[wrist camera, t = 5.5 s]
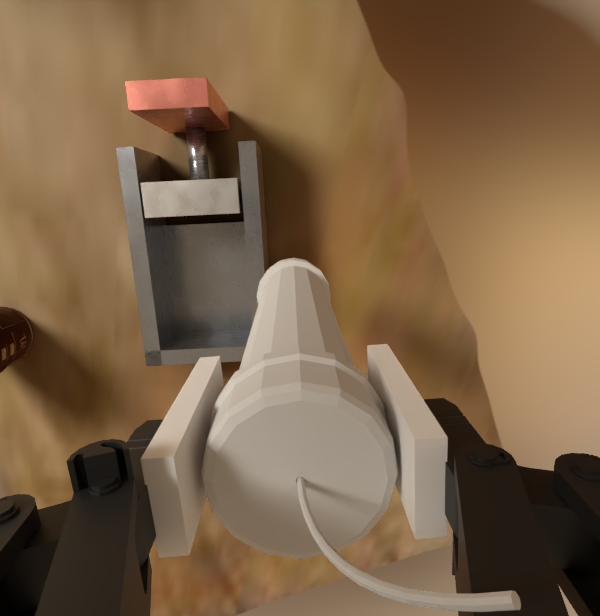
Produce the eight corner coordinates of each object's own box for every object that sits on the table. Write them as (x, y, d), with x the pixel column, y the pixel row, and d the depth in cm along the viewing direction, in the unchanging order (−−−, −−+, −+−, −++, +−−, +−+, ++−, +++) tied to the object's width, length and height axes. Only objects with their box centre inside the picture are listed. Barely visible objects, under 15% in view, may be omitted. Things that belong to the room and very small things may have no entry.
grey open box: (143, 156, 44) (116, 147, 37) (261, 150, 44) (255, 140, 37) (167, 343, 49) (146, 366, 42) (273, 337, 49) (270, 359, 42)
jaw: (155, 112, 43) (108, 82, 32) (240, 107, 43) (222, 76, 32) (167, 215, 45) (128, 219, 34) (247, 211, 45) (233, 214, 34)
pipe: (244, 289, 35) (6, 767, 6) (300, 233, 34) (364, 458, 5) (293, 336, 36) (307, 942, 7) (348, 283, 35) (653, 723, 6)
